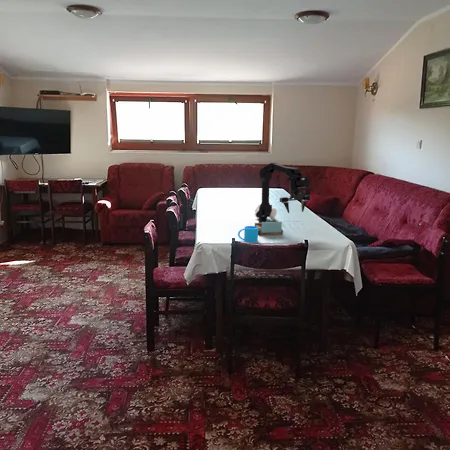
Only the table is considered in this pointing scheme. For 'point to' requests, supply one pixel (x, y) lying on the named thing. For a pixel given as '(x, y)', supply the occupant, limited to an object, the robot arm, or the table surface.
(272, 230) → the panel
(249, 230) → the mug
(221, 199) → the table surface
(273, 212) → the cherub figurine
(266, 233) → the truck bed
